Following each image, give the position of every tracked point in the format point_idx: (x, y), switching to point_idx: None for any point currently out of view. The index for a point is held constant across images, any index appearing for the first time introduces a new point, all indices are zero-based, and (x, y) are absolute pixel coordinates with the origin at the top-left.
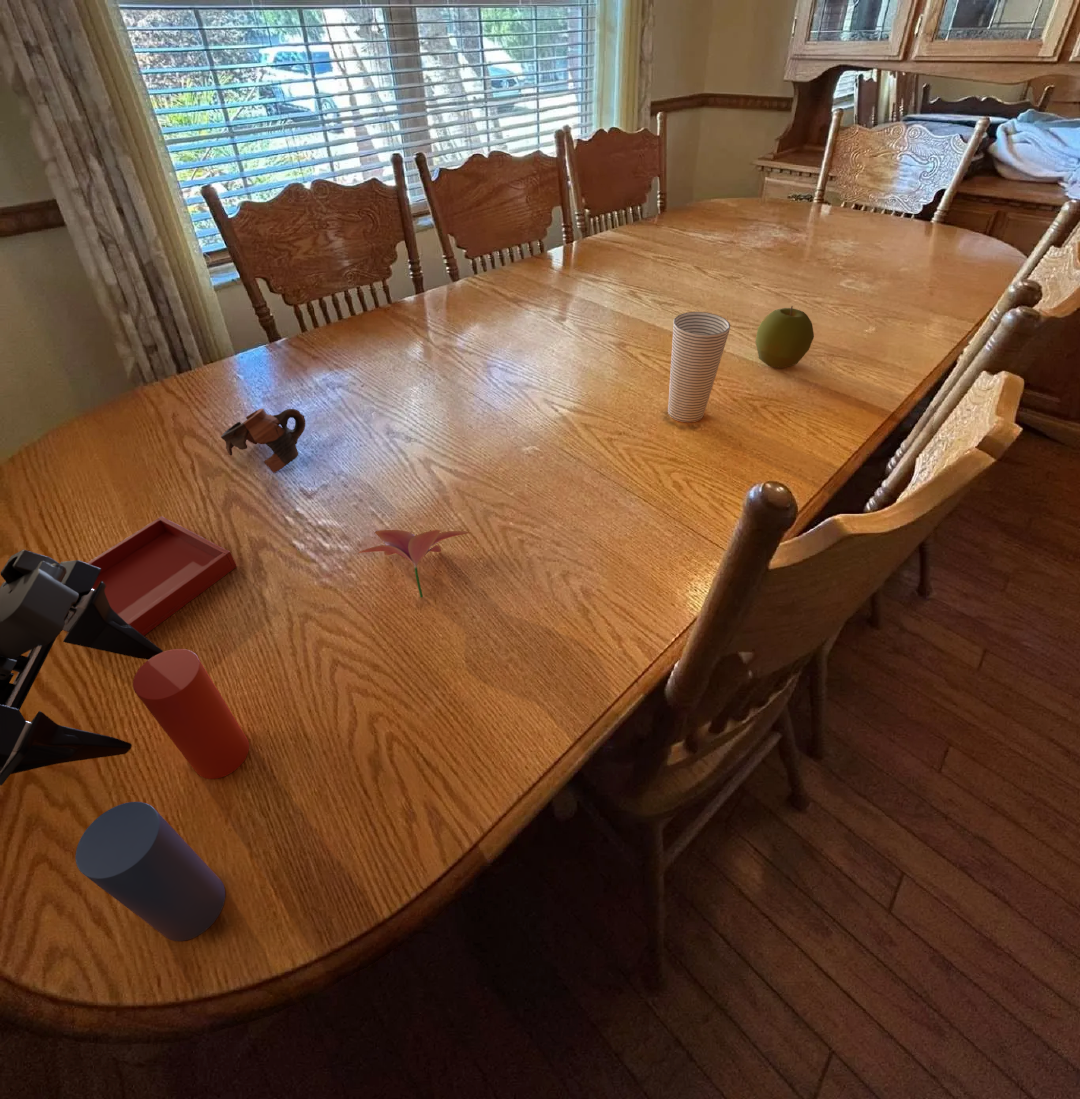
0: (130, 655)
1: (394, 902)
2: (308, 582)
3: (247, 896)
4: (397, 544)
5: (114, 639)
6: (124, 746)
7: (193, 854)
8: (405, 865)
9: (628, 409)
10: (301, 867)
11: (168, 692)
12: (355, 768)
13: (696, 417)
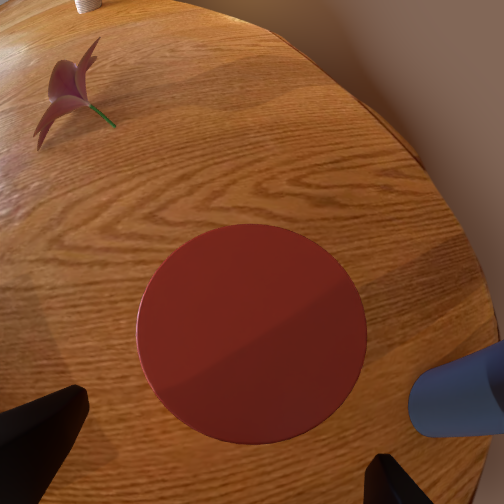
0: (61, 460)
1: (453, 219)
2: (10, 232)
3: (440, 344)
4: (63, 92)
5: (13, 477)
6: (395, 461)
7: (491, 345)
8: (428, 204)
9: (58, 25)
10: (423, 290)
11: (347, 314)
12: (324, 221)
13: (100, 3)
